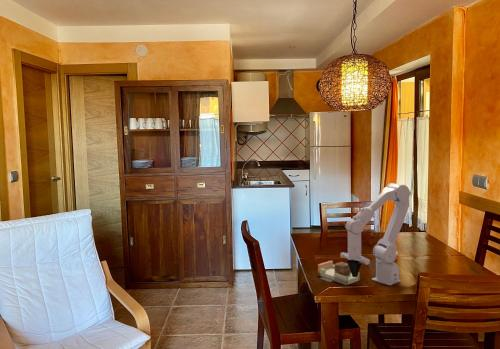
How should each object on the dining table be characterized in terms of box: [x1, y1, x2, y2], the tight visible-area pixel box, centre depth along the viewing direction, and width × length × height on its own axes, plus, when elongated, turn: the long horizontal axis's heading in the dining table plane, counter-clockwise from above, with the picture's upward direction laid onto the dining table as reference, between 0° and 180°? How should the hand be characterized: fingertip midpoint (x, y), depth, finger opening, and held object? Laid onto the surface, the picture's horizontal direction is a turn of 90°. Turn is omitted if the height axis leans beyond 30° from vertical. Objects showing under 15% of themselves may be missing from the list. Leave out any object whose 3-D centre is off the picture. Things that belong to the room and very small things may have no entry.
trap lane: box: [317, 260, 361, 286], centre depth 179 cm, size 17×9×5 cm, turn 36°
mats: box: [319, 276, 335, 283], centre depth 179 cm, size 11×15×1 cm
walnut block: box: [334, 261, 351, 276], centre depth 177 cm, size 5×5×5 cm
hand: (354, 276), depth 172 cm, fingers closed
